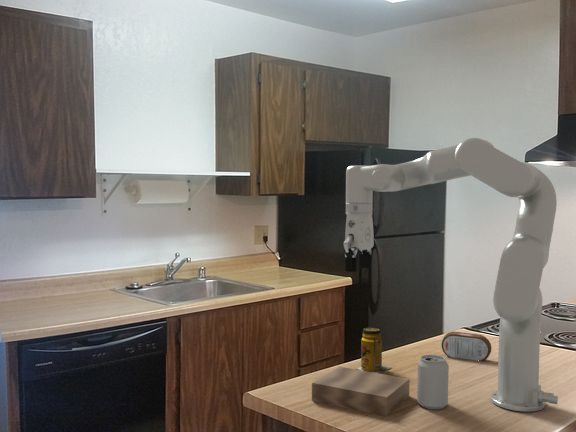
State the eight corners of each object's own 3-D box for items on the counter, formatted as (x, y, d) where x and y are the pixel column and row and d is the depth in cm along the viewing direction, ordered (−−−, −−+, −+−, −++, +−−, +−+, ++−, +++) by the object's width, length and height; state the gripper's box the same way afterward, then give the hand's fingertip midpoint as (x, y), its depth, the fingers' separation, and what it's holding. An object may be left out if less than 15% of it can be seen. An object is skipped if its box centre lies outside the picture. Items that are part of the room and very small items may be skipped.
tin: (491, 361, 187) (491, 334, 186) (490, 364, 184) (490, 337, 183) (442, 355, 193) (442, 329, 193) (440, 358, 190) (440, 331, 190)
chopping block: (409, 397, 155) (409, 378, 155) (386, 418, 142) (386, 397, 141) (339, 384, 165) (339, 366, 165) (311, 402, 152) (311, 382, 151)
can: (425, 397, 154) (426, 351, 154) (452, 404, 150) (453, 356, 149) (411, 405, 149) (412, 357, 148) (439, 413, 144) (440, 363, 143)
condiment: (354, 369, 178) (355, 329, 178) (372, 363, 184) (373, 324, 183) (374, 374, 173) (374, 333, 172) (392, 368, 179) (392, 328, 178)
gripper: (358, 210, 160) (357, 274, 161) (383, 208, 175) (382, 267, 176) (333, 210, 164) (332, 272, 165) (359, 208, 179) (359, 265, 180)
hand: (358, 269), depth 170 cm, fingers open, 9 cm apart
